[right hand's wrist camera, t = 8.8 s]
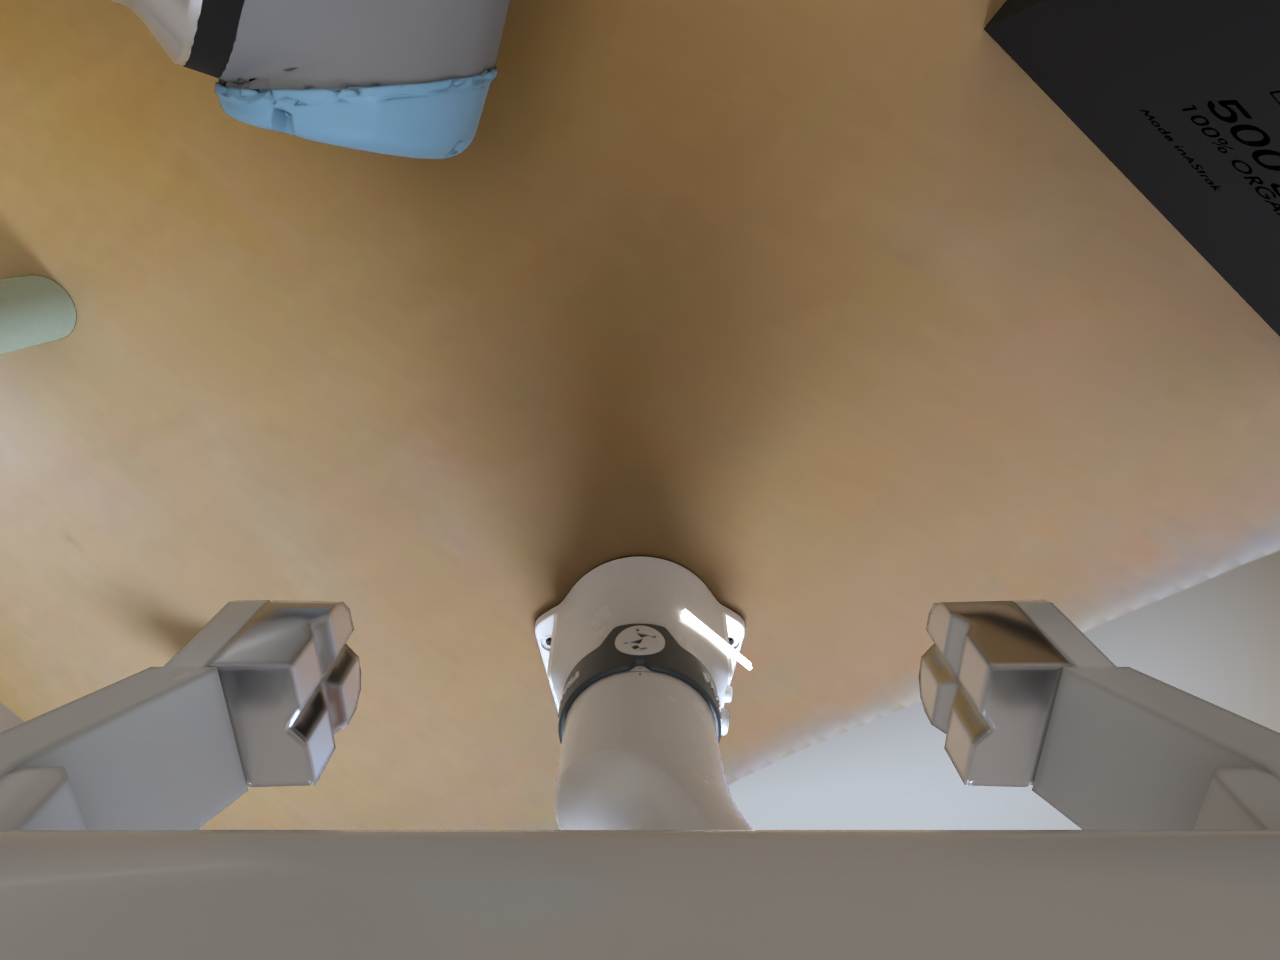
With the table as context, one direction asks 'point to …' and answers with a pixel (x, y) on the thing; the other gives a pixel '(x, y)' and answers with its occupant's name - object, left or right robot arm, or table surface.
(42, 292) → the jar
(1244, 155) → the black computer case
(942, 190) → the table surface
